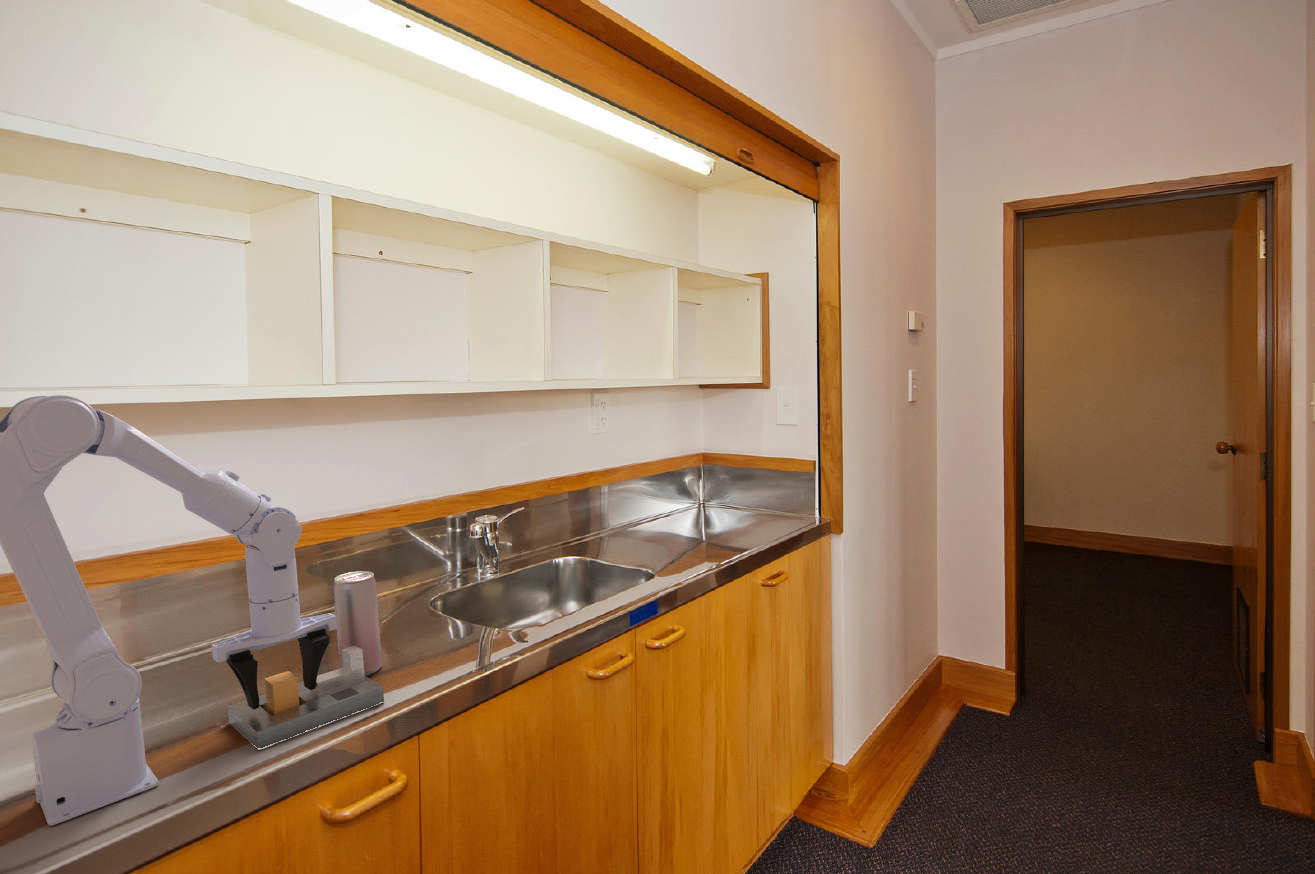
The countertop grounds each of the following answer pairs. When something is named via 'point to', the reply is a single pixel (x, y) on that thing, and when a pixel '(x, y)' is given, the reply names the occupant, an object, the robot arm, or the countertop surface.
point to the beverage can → (358, 617)
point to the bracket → (342, 672)
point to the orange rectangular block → (281, 692)
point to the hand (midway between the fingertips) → (282, 697)
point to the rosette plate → (302, 712)
